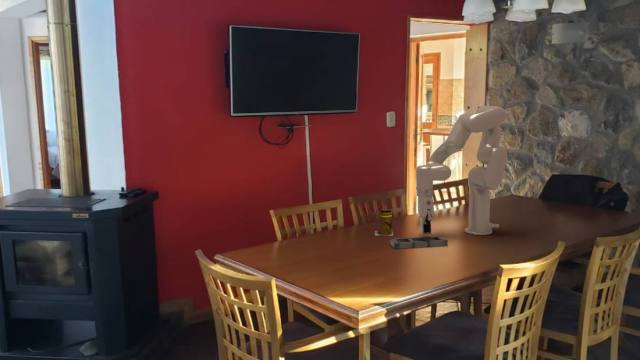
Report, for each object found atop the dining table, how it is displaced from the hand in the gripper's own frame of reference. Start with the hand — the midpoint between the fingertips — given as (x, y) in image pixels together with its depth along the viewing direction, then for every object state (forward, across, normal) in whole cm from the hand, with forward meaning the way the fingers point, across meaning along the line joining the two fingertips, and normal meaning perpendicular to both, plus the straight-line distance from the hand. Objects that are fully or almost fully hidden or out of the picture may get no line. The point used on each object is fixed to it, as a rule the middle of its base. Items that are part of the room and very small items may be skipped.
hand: (425, 230), depth 262 cm
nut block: (+1, 0, 0) cm, 1 cm away
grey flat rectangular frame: (+3, -11, +7) cm, 14 cm away
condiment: (+3, +11, +17) cm, 21 cm away
